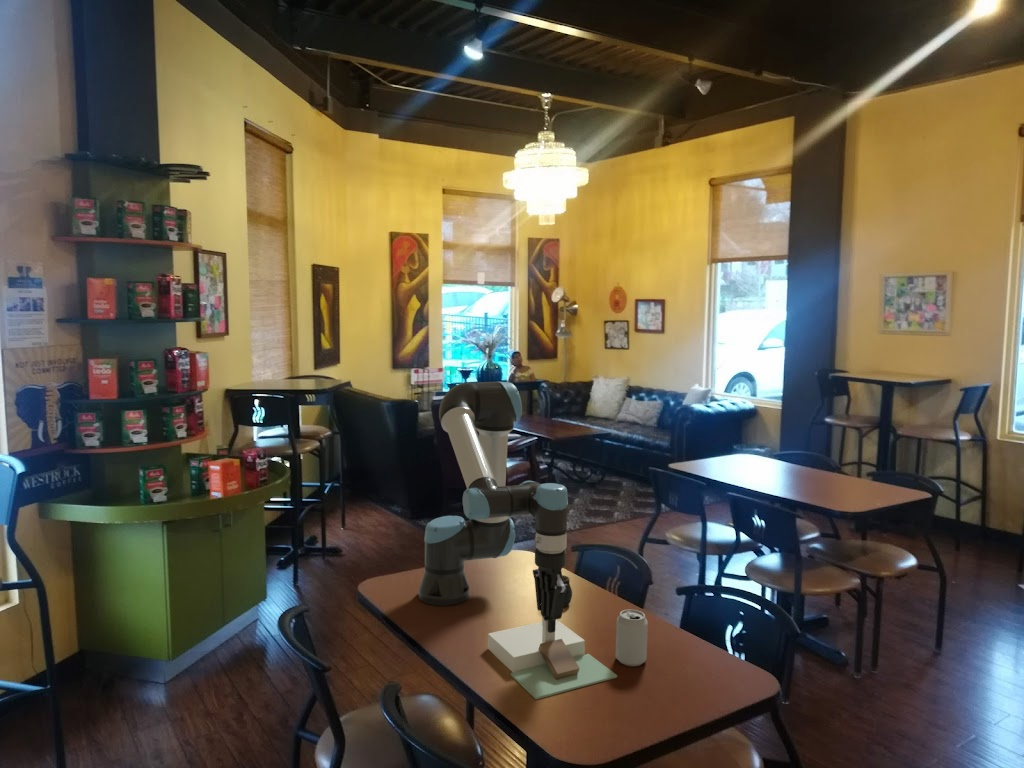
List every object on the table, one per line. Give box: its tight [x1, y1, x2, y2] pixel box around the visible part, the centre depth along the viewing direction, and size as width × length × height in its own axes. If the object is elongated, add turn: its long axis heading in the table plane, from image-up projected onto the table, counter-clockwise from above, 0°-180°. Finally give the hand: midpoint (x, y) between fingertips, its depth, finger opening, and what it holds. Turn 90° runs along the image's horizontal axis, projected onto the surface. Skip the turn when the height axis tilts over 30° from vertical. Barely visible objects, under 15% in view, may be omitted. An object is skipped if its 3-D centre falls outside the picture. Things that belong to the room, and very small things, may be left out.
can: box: [615, 608, 649, 667], centre depth 177 cm, size 8×8×12 cm
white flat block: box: [487, 619, 586, 673], centre depth 181 cm, size 14×20×4 cm
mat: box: [510, 653, 618, 701], centre depth 169 cm, size 12×22×1 cm, turn 118°
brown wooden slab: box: [538, 639, 580, 680], centre depth 171 cm, size 9×6×2 cm, turn 28°
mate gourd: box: [562, 574, 573, 608], centre depth 211 cm, size 7×8×10 cm
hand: (548, 642), depth 175 cm, fingers closed
